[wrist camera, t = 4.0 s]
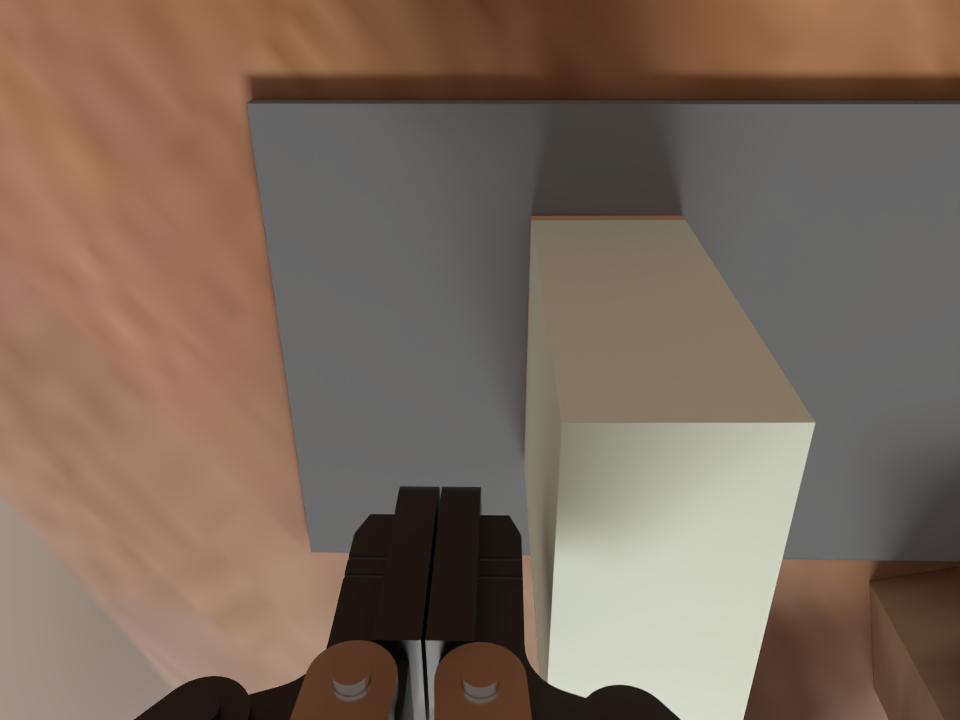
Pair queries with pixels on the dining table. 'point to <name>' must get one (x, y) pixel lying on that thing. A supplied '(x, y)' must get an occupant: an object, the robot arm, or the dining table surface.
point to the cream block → (652, 465)
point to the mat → (615, 192)
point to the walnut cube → (917, 644)
